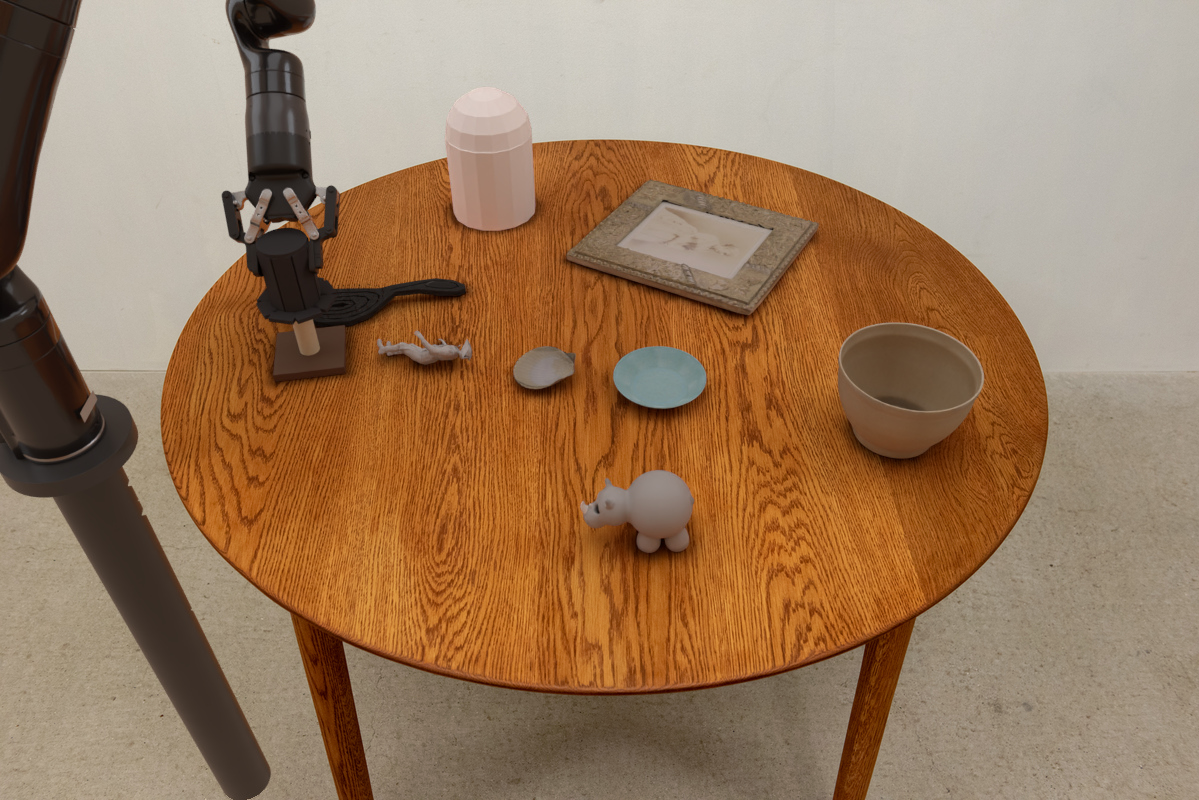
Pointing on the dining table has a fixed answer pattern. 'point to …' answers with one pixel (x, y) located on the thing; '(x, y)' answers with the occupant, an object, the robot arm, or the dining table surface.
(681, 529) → the round bodied animal figurine
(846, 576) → the dining table surface
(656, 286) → the picture frame
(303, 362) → the stand
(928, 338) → the planter bowl
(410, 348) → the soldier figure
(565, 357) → the seashell
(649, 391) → the saucer
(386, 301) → the hairbrush
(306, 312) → the hat
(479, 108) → the container
